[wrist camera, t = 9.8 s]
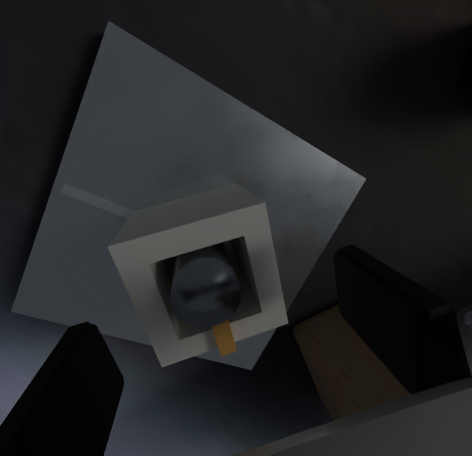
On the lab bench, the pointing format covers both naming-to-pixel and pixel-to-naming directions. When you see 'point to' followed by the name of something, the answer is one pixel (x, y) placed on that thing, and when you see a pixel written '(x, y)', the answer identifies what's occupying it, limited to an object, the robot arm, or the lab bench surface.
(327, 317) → the wooden block
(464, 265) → the lab bench surface
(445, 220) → the lab bench surface
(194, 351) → the gray square frame
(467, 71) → the battery
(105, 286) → the plate
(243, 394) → the lab bench surface
